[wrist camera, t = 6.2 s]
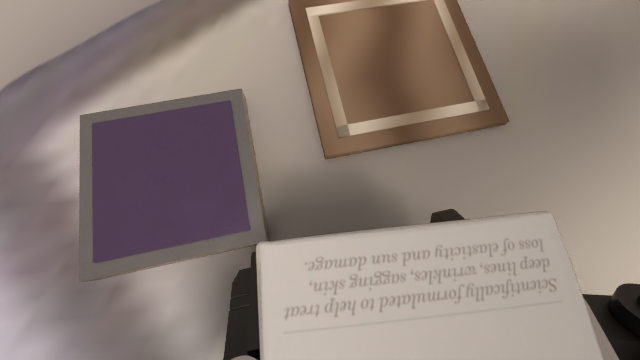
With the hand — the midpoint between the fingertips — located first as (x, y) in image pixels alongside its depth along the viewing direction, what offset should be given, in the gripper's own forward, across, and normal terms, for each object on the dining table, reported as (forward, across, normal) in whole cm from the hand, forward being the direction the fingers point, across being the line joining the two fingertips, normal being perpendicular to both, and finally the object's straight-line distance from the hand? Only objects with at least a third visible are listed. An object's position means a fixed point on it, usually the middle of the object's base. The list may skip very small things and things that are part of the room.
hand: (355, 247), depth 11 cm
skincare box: (+3, 0, +6) cm, 7 cm away
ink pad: (+9, +9, 0) cm, 13 cm away
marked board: (+13, -7, -4) cm, 16 cm away
